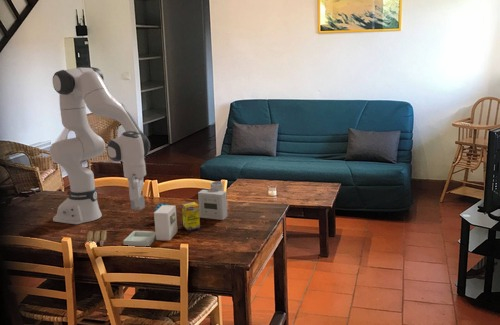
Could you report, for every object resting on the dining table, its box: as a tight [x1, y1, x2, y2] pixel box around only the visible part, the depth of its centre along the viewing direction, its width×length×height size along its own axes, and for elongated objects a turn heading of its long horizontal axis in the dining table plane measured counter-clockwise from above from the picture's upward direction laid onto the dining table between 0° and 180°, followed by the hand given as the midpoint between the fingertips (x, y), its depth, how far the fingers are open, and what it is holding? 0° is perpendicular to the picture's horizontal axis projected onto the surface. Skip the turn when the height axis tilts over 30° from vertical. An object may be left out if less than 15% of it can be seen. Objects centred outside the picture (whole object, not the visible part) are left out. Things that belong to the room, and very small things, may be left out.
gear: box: [154, 202, 169, 212], centre depth 244 cm, size 11×6×10 cm
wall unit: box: [153, 204, 178, 241], centre depth 223 cm, size 7×10×12 cm
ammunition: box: [85, 230, 107, 247], centre depth 219 cm, size 5×7×8 cm
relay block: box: [130, 193, 146, 211], centre depth 216 cm, size 4×4×6 cm
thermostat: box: [197, 181, 228, 221], centre depth 247 cm, size 12×14×15 cm
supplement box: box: [181, 201, 201, 232], centre depth 231 cm, size 6×6×11 cm
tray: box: [122, 230, 157, 247], centre depth 220 cm, size 11×11×2 cm
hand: (138, 203), depth 216 cm, fingers closed on relay block, 5 cm apart
